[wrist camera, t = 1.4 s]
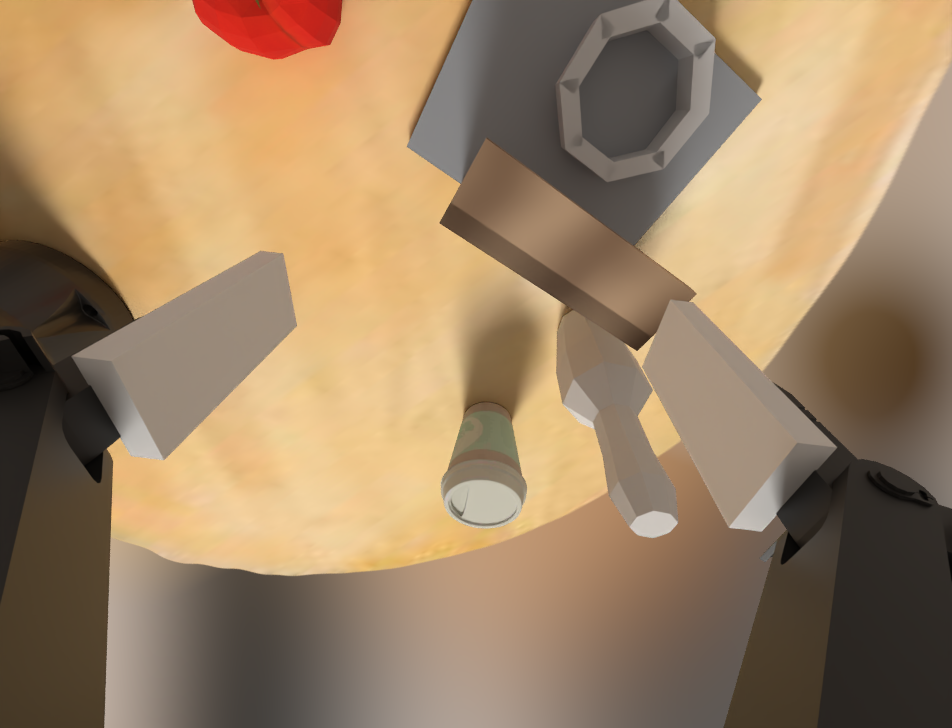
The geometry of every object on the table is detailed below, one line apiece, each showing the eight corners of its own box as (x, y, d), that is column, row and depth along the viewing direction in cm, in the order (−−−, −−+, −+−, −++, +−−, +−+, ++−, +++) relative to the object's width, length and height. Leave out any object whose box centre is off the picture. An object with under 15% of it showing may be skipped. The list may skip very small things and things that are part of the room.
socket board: (409, 145, 30) (399, 148, 27) (529, -120, 22) (533, -156, 19) (600, 277, 35) (609, 292, 32) (753, 99, 27) (783, 97, 24)
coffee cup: (483, 380, 42) (477, 461, 32) (537, 419, 45) (546, 505, 35) (438, 421, 46) (420, 505, 36) (490, 455, 49) (486, 542, 39)
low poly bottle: (585, 363, 40) (653, 569, 22) (537, 335, 39) (567, 532, 21) (627, 318, 37) (747, 516, 19) (576, 286, 36) (653, 467, 17)
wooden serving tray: (463, 182, 31) (439, 222, 20) (492, 128, 29) (486, 138, 17) (592, 271, 35) (637, 350, 23) (627, 229, 33) (696, 294, 21)
